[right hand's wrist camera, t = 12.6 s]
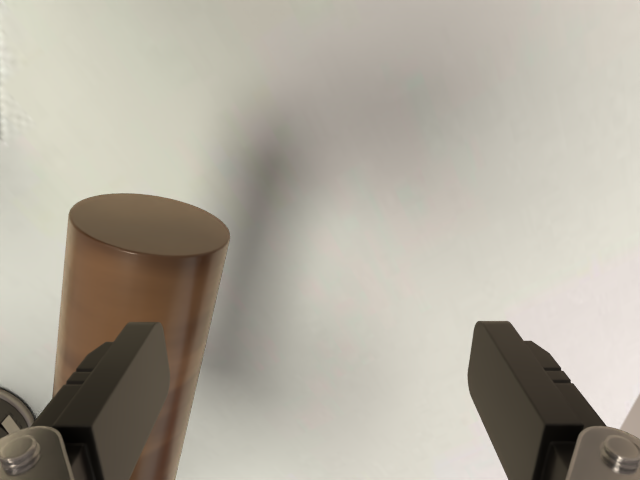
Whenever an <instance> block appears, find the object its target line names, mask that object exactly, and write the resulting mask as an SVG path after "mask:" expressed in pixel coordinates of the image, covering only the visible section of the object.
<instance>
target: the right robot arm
mask: <svg viewBox="0 0 640 480" xmlns="http://www.w3.org/2000/svg"><path fill="white" fill-rule="evenodd" d="M169 385H170V370H169V363H168V357H167V350H166V343H165V336H164V330H163V326H162V324H161V323H160V322H129V323H127V324H126V326H125V327H124V328H123V330H122V331H121V332H120V334H119V335H118V336H117V338H116V339H115V341H114V342H105V343H103V344H102V345H100V346H99V347H98V348H96V349H95V350H93V351H92V352H90V353H89V354H87V356H86V357H85V358H84V360H83V361H82V362H81V363H80V365H79V366H78V367H77V368H76V372H73V373H72V375H71V376H70V377H69V378H68V380H67V381H66V385H63V386H62V387H61V389H60V390H59V391H58V392H57V394H56V395H55V396H54V397H53V399H52V400H51V401H50V403H49V404H48V405H47V406H46V408H45V409H44V410H43V411H42V413H41V414H40V415H39V416H38V418H37V419H36V420H35V421H34V423H33V424H32V425H31V427H28V428H24V429H21V430H18V431H15V432H13V433H11V434H8V435H6V436H5V437H3V438H1V439H0V480H129V479H130V477H131V475H132V472H133V470H134V468H135V466H136V464H137V461H138V459H139V457H140V455H141V453H142V450H143V448H144V446H145V444H146V442H147V439H148V437H149V435H150V433H151V431H152V428H153V426H154V424H155V422H156V420H157V417H158V415H159V413H160V411H161V409H162V407H163V404H164V402H165V400H166V398H167V395H168V391H169ZM468 386H469V391H470V395H471V397H472V400H473V402H474V404H475V406H476V409H477V411H478V413H479V415H480V417H481V420H482V422H483V424H484V426H485V429H486V431H487V433H488V435H489V437H490V440H491V442H492V444H493V446H494V449H495V451H496V453H497V455H498V457H499V460H500V462H501V464H502V466H503V469H504V471H505V473H506V475H507V477H508V480H640V439H639V438H637V437H635V436H634V435H631V434H629V433H627V432H625V431H622V430H619V429H616V428H612V427H607V426H606V425H605V423H604V422H603V421H602V420H601V418H600V417H599V416H598V415H597V413H596V412H595V411H594V409H593V408H592V407H591V406H590V404H589V403H588V402H587V401H586V399H585V398H584V397H583V395H582V394H581V393H580V392H579V390H578V389H577V388H576V386H575V385H574V384H573V383H571V380H570V379H569V378H568V376H567V375H566V374H565V372H564V371H561V367H560V366H559V365H558V364H557V362H556V361H555V360H554V358H553V357H552V356H551V355H550V353H548V352H547V351H545V350H544V349H542V348H541V347H540V346H538V345H537V344H535V343H534V342H532V341H523V339H522V338H521V337H520V335H519V334H518V332H517V331H516V330H515V328H514V327H513V326H512V324H511V323H510V322H508V321H478V322H477V323H476V325H475V328H474V333H473V340H472V347H471V354H470V361H469V367H468Z"/></svg>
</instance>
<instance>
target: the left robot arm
mask: <svg viewBox="0 0 640 480" xmlns="http://www.w3.org/2000/svg"><path fill="white" fill-rule="evenodd" d="M33 423H34V418H33V416H32V414H31V412H30V411H29V409H28V408H27V407H26V405H25V404H24V403H23V402H22V401H20V400H19V399H18V398H17V397H15V396H14V395H12V394H11V393H9V392H7V391H5V390H2V389H0V439H1V438H3V437H5V436H6V435H8V434H11V433H13V432H15V431H18V430H21V429H24V428H28V427H31V425H32V424H33Z"/></svg>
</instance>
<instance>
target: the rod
mask: <svg viewBox="0 0 640 480" xmlns="http://www.w3.org/2000/svg"><path fill="white" fill-rule="evenodd" d="M229 241H230V233H229V230H228V228H227V227H226V225H225V224H224V223H223V222H222V221H221V220H219V219H218V218H217V217H215V216H214V215H212V214H210V213H208V212H207V211H205V210H202V209H200V208H198V207H195V206H193V205H190V204H187V203H184V202H180V201H177V200H173V199H169V198H164V197H159V196H152V195H144V194H127V193H120V194H105V195H98V196H94V197H89V198H87V199H84V200H82V201H80V202H78V203H76V204H75V205H74V206H73V207H72V208H71V210H70V212H69V216H68V227H67V238H66V250H65V261H64V272H63V284H62V295H61V307H60V318H59V329H58V341H57V352H56V363H55V375H54V386H53V397H54V396H55V395H56V394H57V392H58V391H59V390H60V389H61V387H62V386H63V385H66V381H67V380H68V378H69V377H70V376H71V375H72V373H73V372H76V368H77V367H78V366H79V365H80V363H81V362H82V361H83V360H84V358H85V357H86V356H87V354H89V353H90V352H92V351H93V350H95V349H96V348H98V347H99V346H100V345H102V344H103V343H105V342H114V341H115V339H116V338H117V336H118V335H119V334H120V332H121V331H122V330H123V328H124V327H125V326H126V324H127V323H129V322H160V323H161V324H162V326H163V330H164V336H165V343H166V350H167V357H168V363H169V370H170V385H169V391H168V395H167V398H166V400H165V402H164V404H163V407H162V409H161V411H160V413H159V415H158V417H157V420H156V422H155V424H154V426H153V428H152V431H151V433H150V435H149V437H148V439H147V442H146V444H145V446H144V448H143V450H142V453H141V455H140V457H139V459H138V461H137V464H136V466H135V468H134V470H133V472H132V475H131V477H130V479H129V480H175V478H176V473H177V469H178V465H179V460H180V456H181V452H182V447H183V443H184V438H185V434H186V430H187V425H188V421H189V416H190V412H191V408H192V403H193V399H194V394H195V390H196V386H197V381H198V377H199V372H200V368H201V364H202V359H203V355H204V351H205V346H206V342H207V337H208V333H209V329H210V324H211V320H212V315H213V311H214V307H215V302H216V298H217V293H218V289H219V285H220V280H221V276H222V271H223V267H224V263H225V258H226V254H227V249H228V245H229ZM52 399H53V398H52Z"/></svg>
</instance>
